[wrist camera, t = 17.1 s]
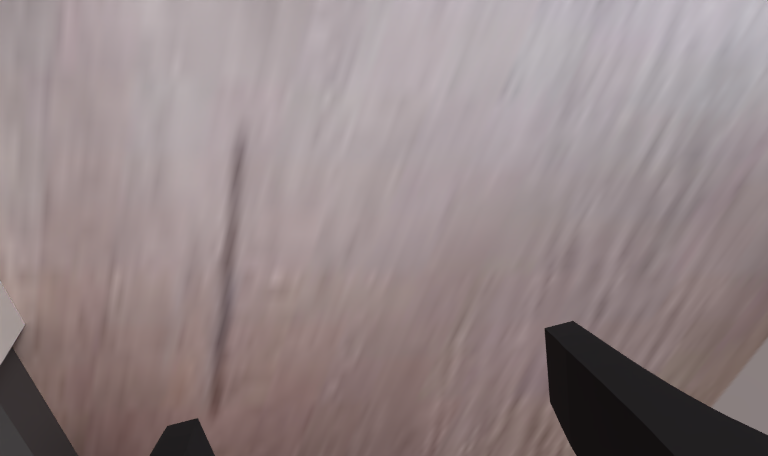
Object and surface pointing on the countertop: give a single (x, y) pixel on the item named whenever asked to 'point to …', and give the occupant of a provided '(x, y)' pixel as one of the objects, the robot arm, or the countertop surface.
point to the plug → (23, 399)
